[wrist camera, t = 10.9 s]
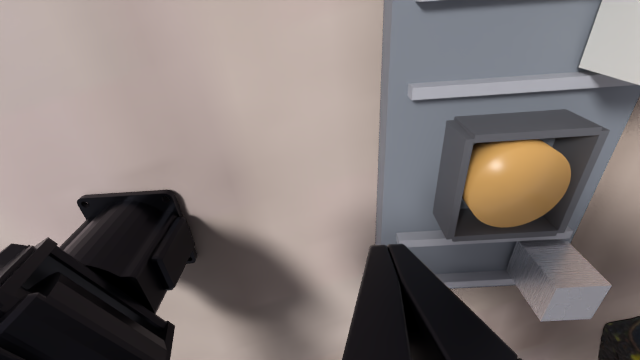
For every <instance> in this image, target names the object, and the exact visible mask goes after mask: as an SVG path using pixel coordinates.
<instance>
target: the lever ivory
mask: <svg viewBox="0 0 640 360" xmlns="http://www.w3.org/2000/svg"><path fill="white" fill-rule="evenodd" d="M579 68H582V69H586V70H589V71H593V72H596V73H600V74H603V75H606V76H610V77H613V78H617V79H620V80H623V81H627V82H630V83H634V84H637V85H640V0H602V2H601V5H600V8H599V11H598V13H597V16H596V19H595V22H594V25H593V28H592V30H591V33H590V36H589V39H588V42H587V45H586V48H585V50H584V53H583V56H582V59H581V62H580V65H579Z"/></svg>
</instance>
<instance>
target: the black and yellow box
mask: <svg viewBox="0 0 640 360" xmlns="http://www.w3.org/2000/svg"><path fill="white" fill-rule="evenodd" d="M601 341H602V344H601V347H600V348H601V349H600V355H599V360H640V317H636V318H633V319H630V320H623V321H617V322H612V323H608V324H606V326H605V328H604V330H603V336H602V338H601Z"/></svg>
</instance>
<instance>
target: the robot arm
mask: <svg viewBox="0 0 640 360" xmlns="http://www.w3.org/2000/svg"><path fill="white" fill-rule="evenodd" d="M164 196H165V197H168V198H169V199H166V198H165V197H164ZM86 202H87V203H86ZM77 204H78V206H79V208H80V210H81V211H82V213H83V215H84V216H85V218H86V221H85V222H84V223H83V224H82V225H81V226H80V227H79V228H78V229H77V230H76V231H75V232H74V233H73V234H72V235H71V236H70V237H69V238H68V239H67V240H66V241H65V242H64V243H63V244H62V245H61V246H60V247H58V246H57V243H55V242H54V241H53V240H51V239H50V238H46V239H45V240H43V241H42V242H40V243H39V244H37V245H36V246H30V245H28V246H25V245H18V244H10V245H9V246H7V247H6V248H5V249H3V250H2V251H1V252H0V360H170V356H171V349H172V342H173V336H174V329H175V325H173V324H172V323H170V322H169V321H164V320H163V319H162V318H160V317H159V316H157V315H156V312H157V310H158V308H159V306H160V304H161V302H162V300H163V298H164V296H165V294H166V292H167V290H173V288H174V287H175V286H176V284H177V282H178V280H179V278H180V275H181V273H182V271H183V269H184V267H185V265H186V264H190V263H194V262H195V261H196V258H197V253H196V250H195V247H194V246H195V243H194V240H193V238H192V235H191V232H190V229H189V227H188V224H187V221H186V219H185V218H184V217H183V215H182V213H181V210H180V207H179V204H178V202H177V199H176V196H175V195H174V193H173V192H171V191H169V190H158V191H142V192H126V193H110V194H94V195H83V196H82V197H81V198H80V199H79V200H77ZM342 360H522V359H521V358H518V359H517V354H516V353H515V352H514V351H513V350H512V349H511V348H510V347H509V346H508V345H506V344H505V343H504V342H503V341H502V340H501V339H500V338H499V337H498V336H497V335H496V334H495V333H494V332H493V331H492V330H491V329H490V328H489V327H488V326H487V325H486V324H485V323H484V322H483V321H482V320H481V319H480V318H479V317H478V316H477V315H476V314H475V313H474V312H473V311H472V310H471V309H470V308H469V307H468V306H467V305H466V304H465V303H464V302H463V301H462V300H461V299H459V298H458V297H457V296H456V295H455V294H454V293H453V292H452V291H451V290H450V289H449V288H448V287H447V286H446V285H445V284H444V283H443V282H442V281H441V280H440V279H439V278H438V277H437V276H436V275H435V274H434V273H433V272H432V271H431V270H430V269H429V268H428V267H427V266H426V265H425V264H424V263H423V262H422V261H421V260H420V259H419V258H418V257H417V256H416V255H415V254H414V253H412V252H411V251H410V250H409V249H408V248H407V247H406V246H405V245H404V244H389V245H387V246H386V245H384V244H383V245H372V246H370V249H369V253H368V257H367V261H366V265H365V269H364V273H363V277H362V281H361V285H360V289H359V293H358V297H357V301H356V306H355V310H354V314H353V318H352V322H351V326H350V330H349V334H348V338H347V342H346V346H345V350H344V354H343V358H342Z"/></svg>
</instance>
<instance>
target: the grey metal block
mask: <svg viewBox="0 0 640 360" xmlns="http://www.w3.org/2000/svg"><path fill="white" fill-rule="evenodd" d="M506 271H507V273H508V274H509V276H510V277H511V279H512V280H513V282H514V283H515V284H516V286H517V287H518V289H519V290H520V292H521V293H522V295H523V296H524V298H525V299H526V301H527V302H528V304H529V305H530V307H531V308H532V310H533V311H534V312H535V314H536V315H537V317H538V318H539V320H540V321H560V320H580V319H591V318H592V317H593V315H594V313H595V312H596V310H597V309H598V307H599V305H600V304H601V302H602V301H603V299H604V297H605V296H606V294H607V293H608V291H609V289H610V288H611V286H612V285H611V284H610V283H609V282H608V281H607V280H606V279H605V278H604V277H603V276H602V275H601V274H600V273H599V272H598V271H597V270H596V269H595V268H594V267H593V266H592V265H591V264H590V263H589V262H588V261H587V260H586V259H585V258H584V257H583V256H582V255H581V254H580V253H579V252H578V251H577V250H576V249H575V248H574V247H573V246H572V245H571V244H570V243H569V242H568V241H567V240H566V239H548V240H531V241H516V244H515V247H514V250H513V253H512V256H511V258H510V261H509V264H508V267H507V270H506Z"/></svg>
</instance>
